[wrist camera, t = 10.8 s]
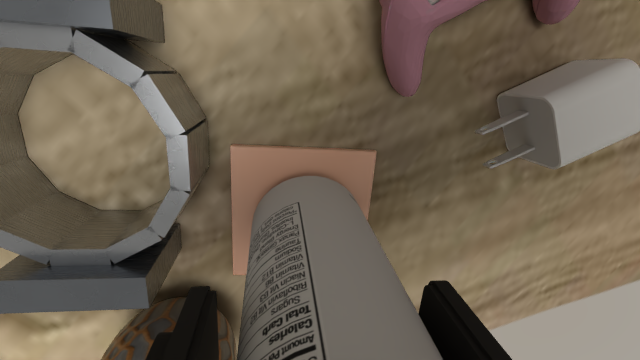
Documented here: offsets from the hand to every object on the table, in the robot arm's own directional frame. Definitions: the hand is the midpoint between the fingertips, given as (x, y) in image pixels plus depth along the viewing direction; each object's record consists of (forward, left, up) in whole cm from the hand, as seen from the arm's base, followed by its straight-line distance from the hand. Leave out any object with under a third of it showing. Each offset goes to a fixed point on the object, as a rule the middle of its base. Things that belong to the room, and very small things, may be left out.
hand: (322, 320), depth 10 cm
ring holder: (+10, -4, -9) cm, 14 cm away
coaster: (0, 0, -9) cm, 9 cm away
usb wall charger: (-12, -6, -9) cm, 17 cm away
